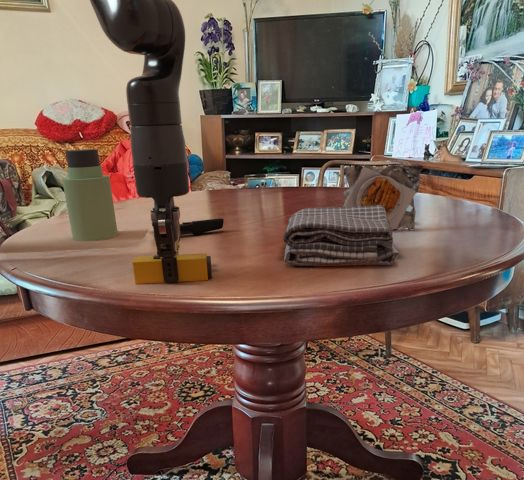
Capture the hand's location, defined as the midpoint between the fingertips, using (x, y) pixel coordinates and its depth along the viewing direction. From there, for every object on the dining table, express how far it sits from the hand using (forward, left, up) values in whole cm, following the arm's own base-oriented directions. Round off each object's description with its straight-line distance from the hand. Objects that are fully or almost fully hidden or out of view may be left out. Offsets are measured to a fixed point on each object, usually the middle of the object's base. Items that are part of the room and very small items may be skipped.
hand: (172, 278), depth 79 cm
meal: (+41, +28, 0) cm, 50 cm away
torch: (0, 0, 0) cm, 0 cm away
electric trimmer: (+1, +34, 0) cm, 34 cm away
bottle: (-18, +31, 0) cm, 36 cm away
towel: (+28, +8, 0) cm, 29 cm away
